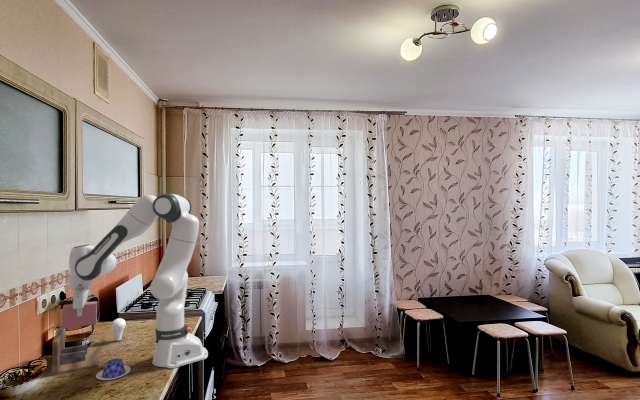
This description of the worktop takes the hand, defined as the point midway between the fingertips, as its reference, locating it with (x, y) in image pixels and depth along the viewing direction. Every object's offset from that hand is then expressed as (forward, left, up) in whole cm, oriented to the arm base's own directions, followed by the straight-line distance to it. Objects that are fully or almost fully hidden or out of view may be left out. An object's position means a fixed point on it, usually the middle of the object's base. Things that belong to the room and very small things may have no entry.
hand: (80, 314), depth 152 cm
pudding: (-13, +21, -20) cm, 32 cm away
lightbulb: (-14, -17, -20) cm, 30 cm away
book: (0, 0, -5) cm, 5 cm away
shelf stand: (+1, 0, -20) cm, 20 cm away
